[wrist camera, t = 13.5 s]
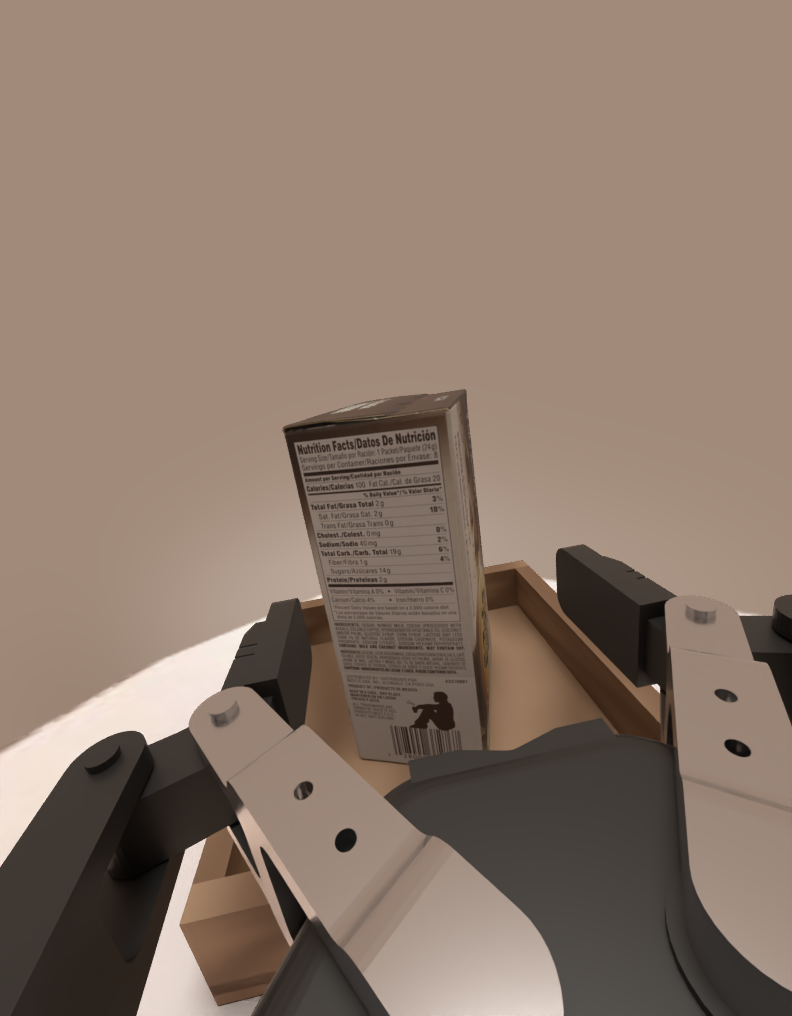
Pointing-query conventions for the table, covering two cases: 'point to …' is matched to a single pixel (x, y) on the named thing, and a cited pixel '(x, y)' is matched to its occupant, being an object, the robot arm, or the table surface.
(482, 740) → the coffee box
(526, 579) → the walnut tray
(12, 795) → the table surface
